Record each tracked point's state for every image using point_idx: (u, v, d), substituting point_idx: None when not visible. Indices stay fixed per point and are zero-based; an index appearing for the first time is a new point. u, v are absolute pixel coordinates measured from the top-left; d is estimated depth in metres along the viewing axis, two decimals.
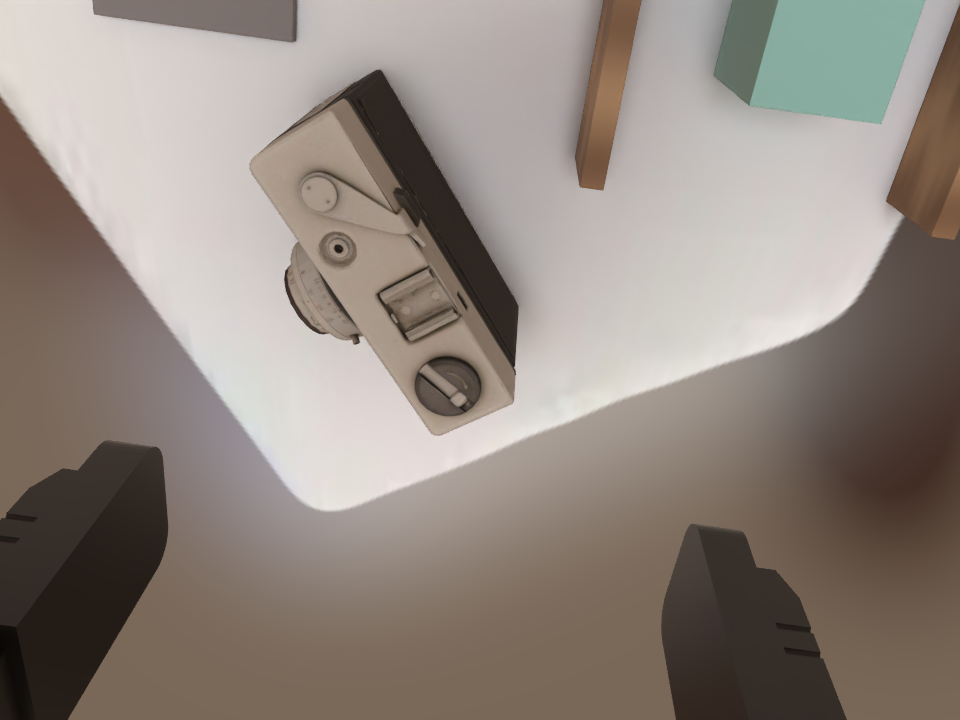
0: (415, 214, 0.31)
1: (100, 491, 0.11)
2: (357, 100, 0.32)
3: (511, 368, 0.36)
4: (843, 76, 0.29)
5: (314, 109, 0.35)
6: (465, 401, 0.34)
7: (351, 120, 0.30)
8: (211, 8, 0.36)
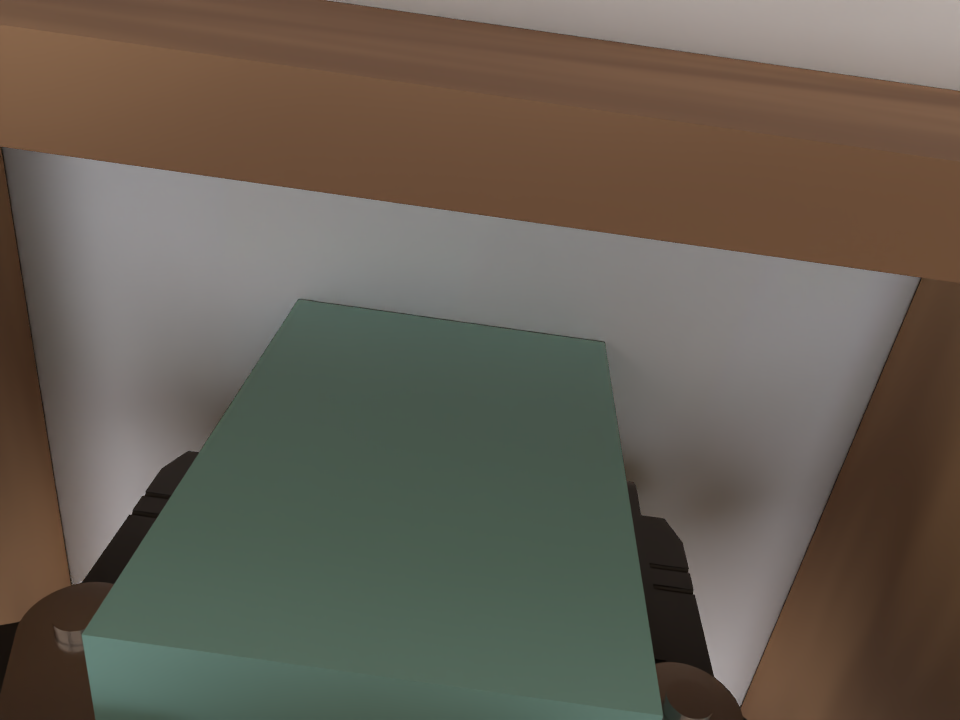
0: None
1: None
2: None
3: None
4: None
5: None
6: None
7: None
8: None
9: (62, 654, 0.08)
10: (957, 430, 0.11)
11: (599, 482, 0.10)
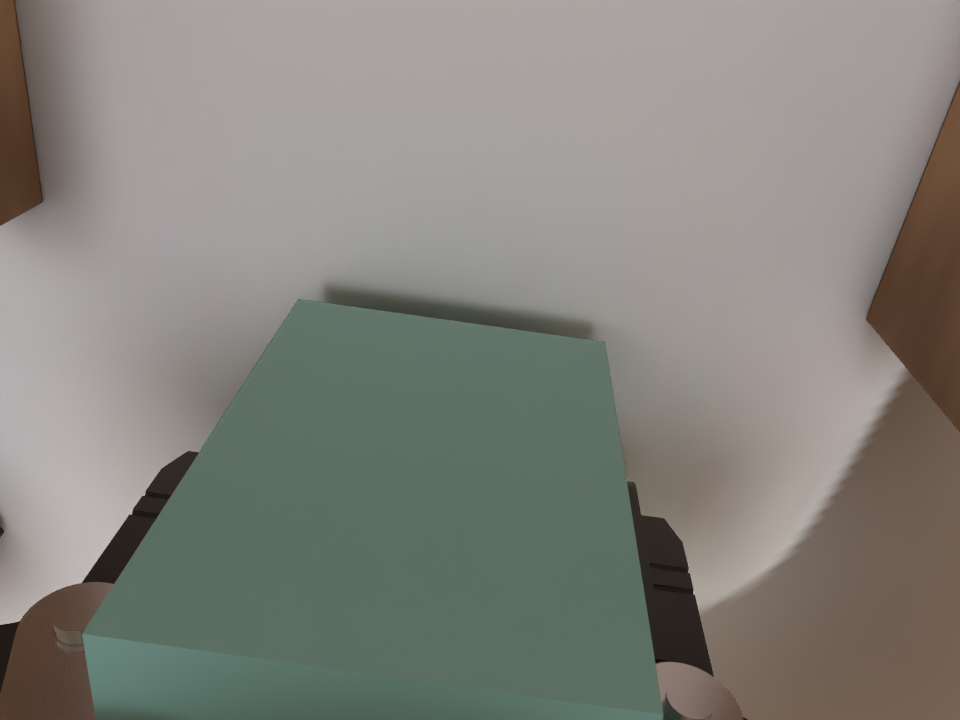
0: None
1: None
2: None
3: None
4: None
5: None
6: None
7: None
8: None
9: (62, 654, 0.08)
10: None
11: (599, 481, 0.10)
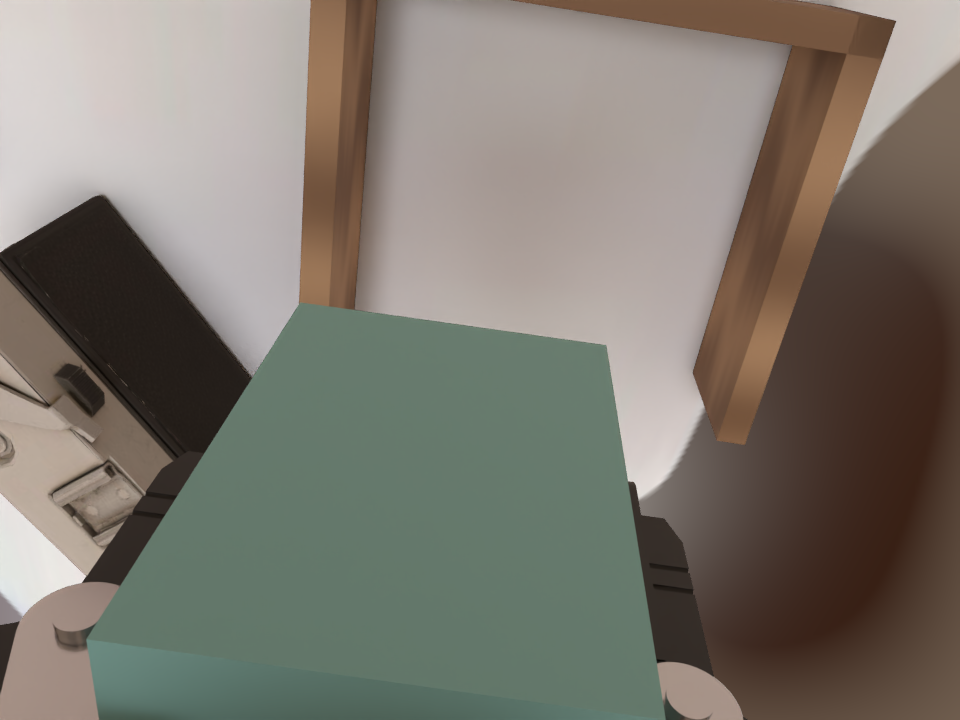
0: (87, 398, 0.25)
1: None
2: (15, 258, 0.25)
3: None
4: None
5: None
6: None
7: None
8: None
9: (62, 654, 0.08)
10: (786, 137, 0.26)
11: (601, 486, 0.10)
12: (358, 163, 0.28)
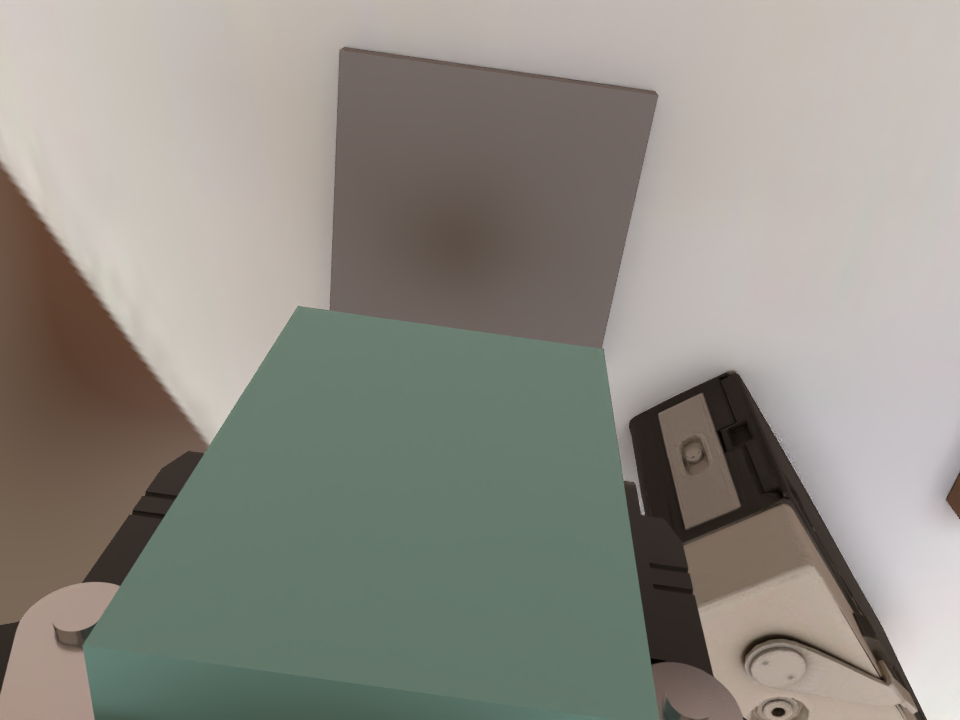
0: (888, 656, 0.21)
1: None
2: (791, 492, 0.22)
3: None
4: None
5: (673, 455, 0.25)
6: None
7: (811, 546, 0.20)
8: (491, 332, 0.26)
9: (62, 654, 0.08)
10: None
11: (597, 490, 0.10)
12: None
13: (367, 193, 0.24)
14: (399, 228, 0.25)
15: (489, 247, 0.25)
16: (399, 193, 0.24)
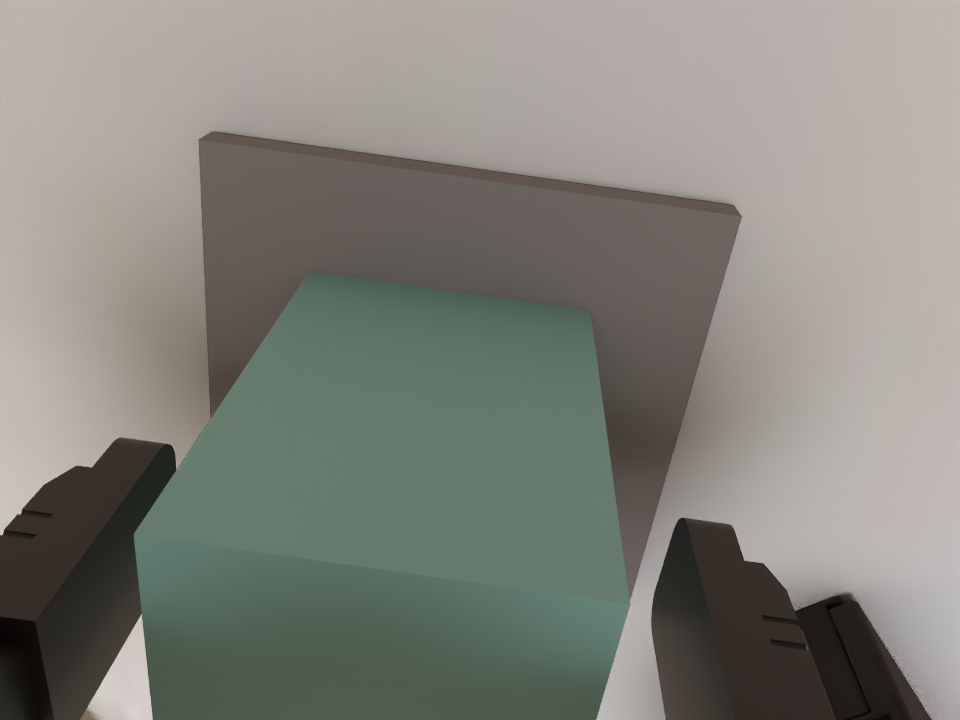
0: None
1: (114, 488, 0.11)
2: None
3: None
4: None
5: None
6: None
7: None
8: None
9: None
10: None
11: (581, 425, 0.11)
12: None
13: None
14: None
15: None
16: None
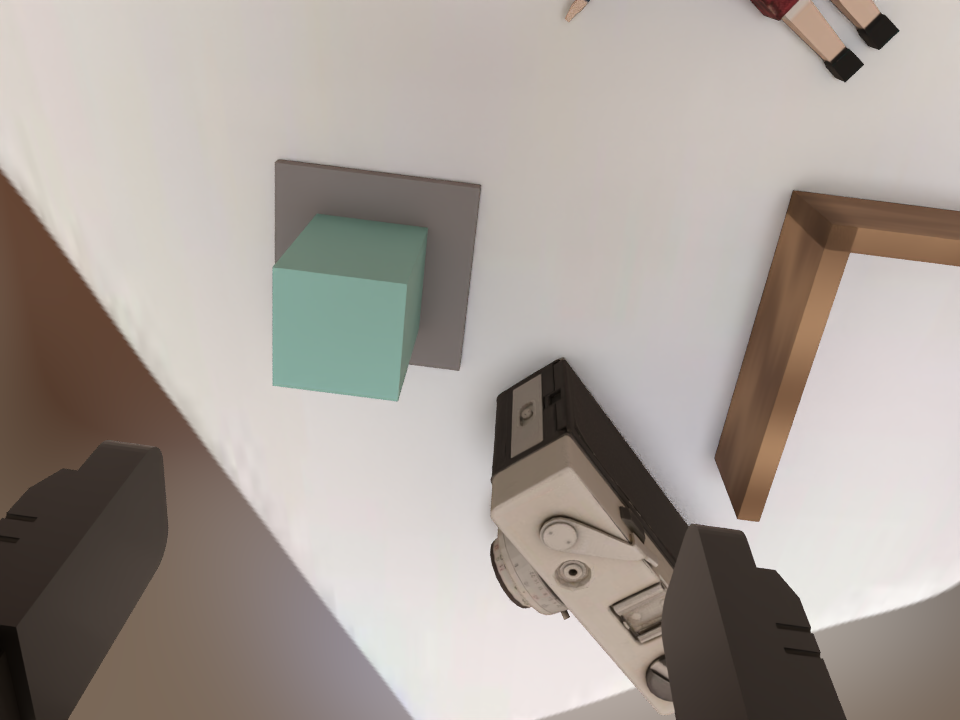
0: (641, 532, 0.33)
1: (100, 491, 0.11)
2: (574, 429, 0.34)
3: None
4: (351, 362, 0.31)
5: (515, 415, 0.37)
6: None
7: (579, 460, 0.32)
8: None
9: None
10: None
11: (409, 254, 0.33)
12: None
13: None
14: None
15: None
16: None
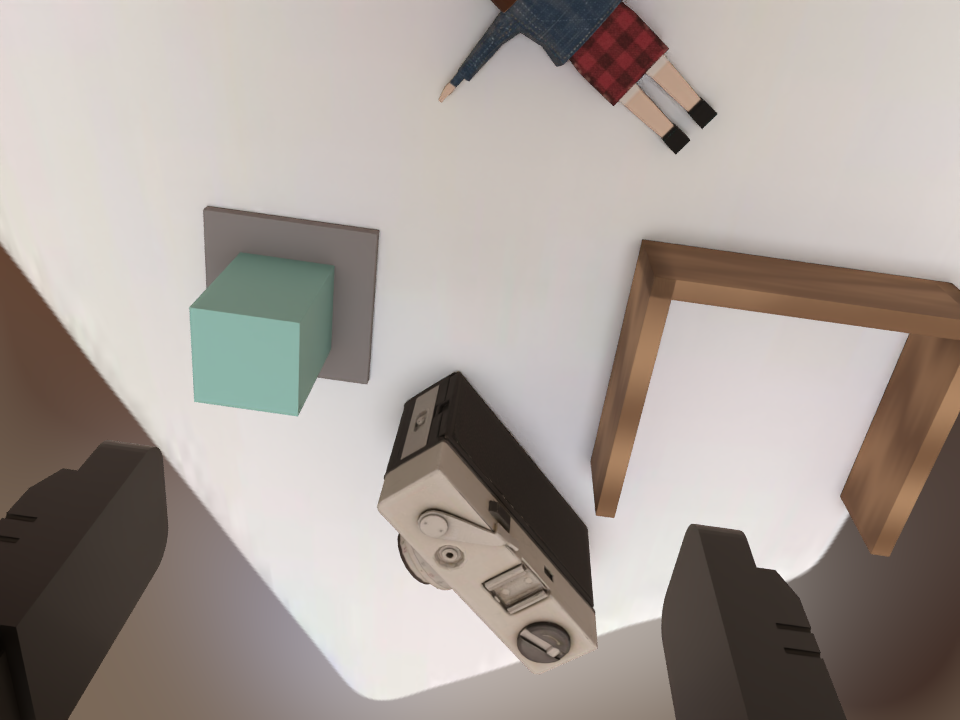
0: (507, 522, 0.40)
1: (100, 491, 0.11)
2: (452, 436, 0.40)
3: (591, 611, 0.44)
4: (257, 384, 0.38)
5: (412, 421, 0.44)
6: (559, 652, 0.42)
7: (452, 462, 0.39)
8: None
9: None
10: (921, 368, 0.41)
11: (310, 293, 0.39)
12: None
13: None
14: None
15: None
16: None
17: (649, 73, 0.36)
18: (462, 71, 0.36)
